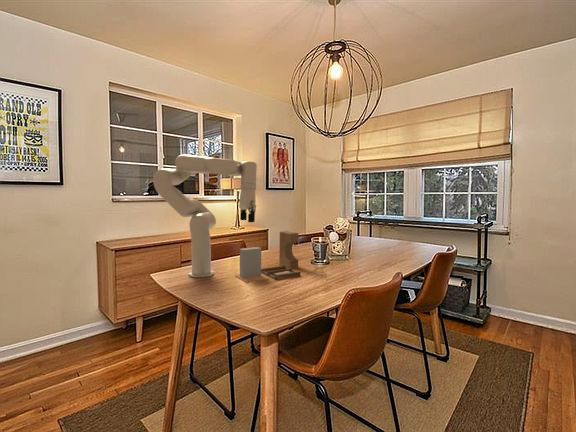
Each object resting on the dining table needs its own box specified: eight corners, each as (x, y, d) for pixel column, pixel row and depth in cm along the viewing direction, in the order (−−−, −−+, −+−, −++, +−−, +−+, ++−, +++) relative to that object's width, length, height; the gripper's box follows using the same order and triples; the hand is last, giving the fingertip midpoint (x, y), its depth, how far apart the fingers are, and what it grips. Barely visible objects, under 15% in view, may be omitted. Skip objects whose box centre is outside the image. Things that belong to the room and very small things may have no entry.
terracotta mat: (235, 275, 162) (235, 274, 162) (256, 272, 169) (256, 271, 169) (246, 282, 151) (246, 281, 150) (268, 279, 157) (268, 278, 157)
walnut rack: (261, 273, 168) (261, 268, 168) (284, 270, 175) (284, 265, 175) (275, 280, 155) (275, 275, 154) (300, 276, 162) (300, 271, 162)
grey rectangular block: (239, 276, 160) (239, 248, 158) (257, 273, 165) (257, 247, 164) (243, 278, 156) (242, 250, 155) (261, 275, 161) (261, 248, 160)
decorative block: (298, 268, 180) (299, 233, 178) (290, 269, 177) (291, 233, 175) (286, 264, 189) (287, 230, 187) (278, 265, 185) (279, 231, 184)
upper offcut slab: (273, 275, 161) (273, 273, 161) (287, 273, 167) (287, 270, 167) (279, 278, 157) (279, 275, 157) (293, 275, 163) (293, 272, 163)
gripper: (234, 186, 163) (233, 219, 165) (248, 186, 149) (247, 223, 150) (248, 186, 167) (247, 219, 169) (262, 187, 152) (261, 222, 154)
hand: (247, 221), depth 159 cm, fingers open, 9 cm apart
